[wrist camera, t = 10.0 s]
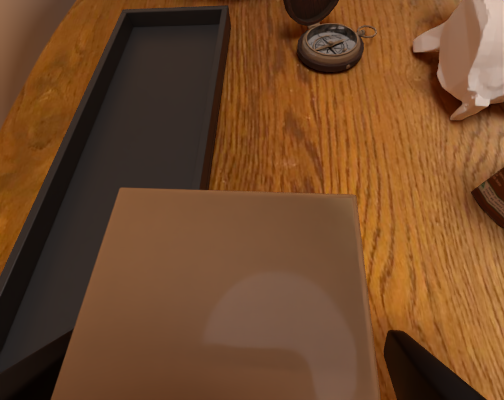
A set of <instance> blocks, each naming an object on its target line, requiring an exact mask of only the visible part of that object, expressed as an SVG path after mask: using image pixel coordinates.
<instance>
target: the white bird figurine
mask: <svg viewBox="0 0 504 400" xmlns="http://www.w3.org/2000/svg"><path fill="white" fill-rule="evenodd" d="M436 51H440V52H439V64H438V71H437V75H438V76H437V77H438V78H439V82H440V83H441V86H442V87H443V88H444V89H445V90H446V91H448V92H449V93H451V94H452V95H453V96H454V97H455V98H457V99H458V100H460V101H462V105H461V107H459V108H458V109H457V110H456V111H455V112H454V113H453V114H452V115H451V117H450V120H463V119H465V118H466V117H468V116H471V115H473V114H476V113H478V112H479V111H481V110H482V109H484V108H486V107H488V106H489V104H496V103H501V102H504V0H462V1H461V3H460V4H459V5H458V7H457V8H456V9H455V11H454V12H453V13H452V15H451V16H450V18H449V19H448V20H447V21H446V22H444V23H442V24H441V25H440V26H437V27H435V28H432V29H430V30H428V31H426V32H424V33H423V34H421V35H419V36H418V37H417V38H416V39H415V40H414V41H413V52H436Z"/></svg>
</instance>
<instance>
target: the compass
mask: <svg viewBox="0 0 504 400" xmlns="http://www.w3.org/2000/svg"><path fill="white" fill-rule="evenodd" d="M283 1H284V5H285V9H286V11H287V13H288V14H289V16H290V17H291V18H292V19H293V20H295V21H296V22H297V23H299V24H301V25H305V26H307V27H308V29H310V30H307V31H306V32H305V33H304V34H302V35H301V37H300V39H299V40H298V48H297V53H298V56H299V58H300V59H301V61H302V62H303V63H304V64H306V65H307V66H309V67H310V68H313V69H316V70H318V71H324V72H337V71H342V70H345V69H348V68H350V67H352V66H354V65H355V64H356V63H357V62H358V61H359V60H360V58H361V55H362V53H363V50H364V43H363V41H362V39H361V37H364V38H371V37H374V36H375V35H376V34H377V30H376V29H375V28H374V27H372V26H369V25H364V26H361V27H359V28H358V29H357V33H356V32H355V31H353V30H352V29H351V28H349V27H348V26H345V25H342V24H337V23H325V24H320V23H319V22H320V21H322V20H323V19H324V18H325V17H326V16H328V15H329V14H330V12H331V11H332V10H333V9H334V7H335V6H336V5H337V3H338V1H339V0H283ZM363 27H369V28H372V29H374V30H375V34H374V35H372V36H364V35H365V31H364V30H361V31H359V29H360V28H363Z"/></svg>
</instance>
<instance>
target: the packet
mask: <svg viewBox="0 0 504 400" xmlns="http://www.w3.org/2000/svg"><path fill="white" fill-rule="evenodd" d="M51 400H381V397H380V389H379V380H378V372H377V364H376V356H375V347H374V339H373V331H372V323H371V314H370V306H369V298H368V290H367V281H366V273H365V265H364V257H363V248H362V240H361V232H360V223H359V215H358V207H357V199H356V195H349V194H317V193H284V192H251V191H219V190H186V189H154V188H120V189H119V192H118V195H117V198H116V201H115V204H114V207H113V210H112V213H111V217H110V220H109V223H108V226H107V229H106V232H105V235H104V238H103V241H102V244H101V247H100V250H99V253H98V256H97V259H96V263H95V266H94V269H93V272H92V275H91V278H90V281H89V284H88V287H87V290H86V293H85V296H84V299H83V302H82V305H81V309H80V312H79V315H78V318H77V321H76V324H75V327H74V330H73V333H72V336H71V339H70V342H69V345H68V348H67V351H66V354H65V358H64V361H63V364H62V367H61V370H60V373H59V376H58V379H57V382H56V385H55V388H54V391H53V394H52V397H51Z"/></svg>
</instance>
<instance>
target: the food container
mask: <svg viewBox="0 0 504 400" xmlns="http://www.w3.org/2000/svg"><path fill="white" fill-rule="evenodd" d="M471 193H472V195H473V196H474V198H475V199H476V201H477V202H478V204H479V206H480V207H481V208H482V209H483V210H484V211H485V212H486V213H487V214H488V215H489V216H490V217H491V218H492V219H493V220H494V221H495V222H496V223H497V224H498V225H499V226H500V227H502V228H504V168H502V169H501V170H500V171H498V172H497V173H496V174H494V175H493V176H492V177H490V178H489V179H487V180H486V181H485V182H483V183H482V184H481V185H479V186H478V187H477V188H475V189H474V190H473V191H471Z"/></svg>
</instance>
